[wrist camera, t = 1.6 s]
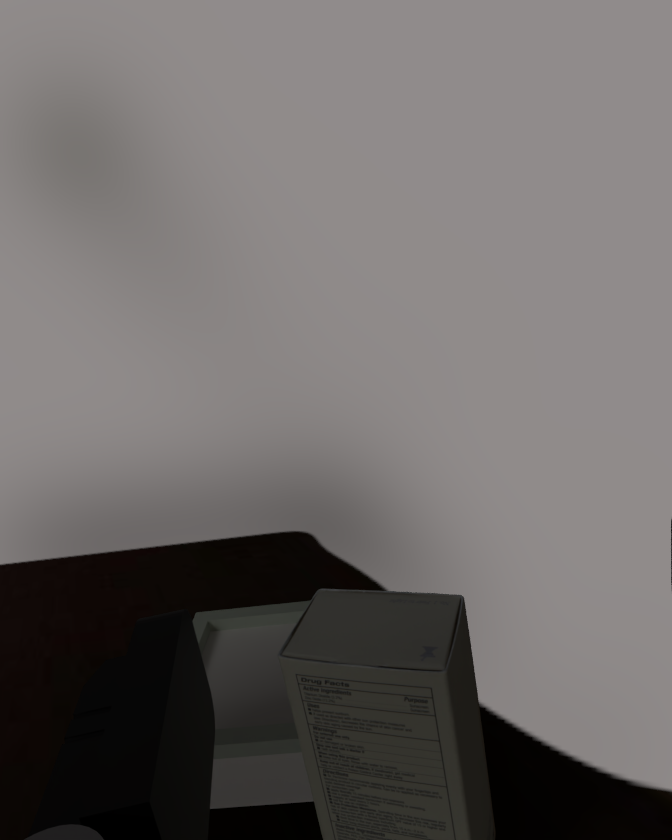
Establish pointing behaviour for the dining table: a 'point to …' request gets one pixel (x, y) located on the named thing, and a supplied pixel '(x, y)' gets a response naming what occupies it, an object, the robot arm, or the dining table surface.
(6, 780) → the dining table surface
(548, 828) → the dining table surface
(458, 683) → the skincare box
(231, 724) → the shallow open tray
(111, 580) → the dining table surface
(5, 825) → the dining table surface
